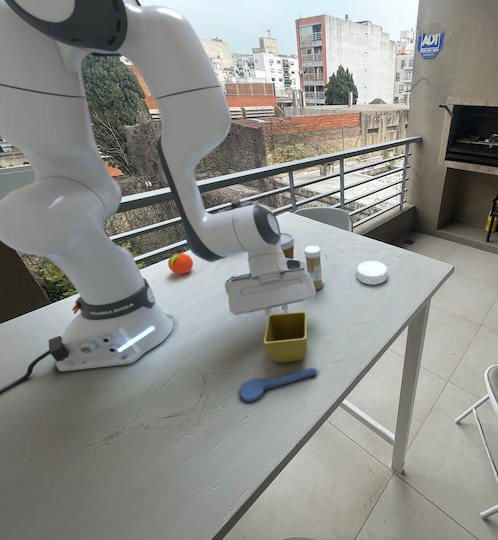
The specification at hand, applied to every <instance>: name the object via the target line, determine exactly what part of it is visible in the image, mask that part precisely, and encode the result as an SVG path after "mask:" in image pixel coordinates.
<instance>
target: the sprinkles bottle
mask: <svg viewBox="0 0 498 540" xmlns="http://www.w3.org/2000/svg"><path fill="white" fill-rule="evenodd" d="M304 256H305V263H306V271H308V272H309V274H310V275H311V278H312V280H313V283H314V286H315V290H316V291H317V290H319V289H321V288H322V287H323V279H322V278H323V275H322V274H323V273H322V262H321V248H320V247H319V246H317V245H309V246H307V247H305V248H304Z"/></svg>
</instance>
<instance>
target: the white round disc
mask: <svg viewBox="0 0 498 540" xmlns="http://www.w3.org/2000/svg"><path fill="white" fill-rule="evenodd" d="M356 276H357V279H358V280H359V281H360V282H361V283H363V284H366V285H372V286H374V285H380V284H383V283H384V282H385V281H386V280H387V278H388V267H387V266H386V265H385V264H384V263H383V262H381V261H377V260H366V261H363V262H361V263H359V264H358V265H357V268H356Z"/></svg>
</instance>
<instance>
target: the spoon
mask: <svg viewBox="0 0 498 540" xmlns="http://www.w3.org/2000/svg"><path fill="white" fill-rule="evenodd" d="M316 374H317V369H316V368H315V367H310V368H306V369H303V370H299V371H296V372H292V373H288V374H285V375H282V376H278V377H275V378H272V379H268V380H265V381H263V380H262V379H259V378H253V379H249V380H247V381H246V382H245V383H243V384H242V386H241V387H240V392H239V394H240V396H241V399H242V400H243V401H244V402H247V403H249V402H250V403H251V402H255V401H258V400H259V399H260V398H261V397H262V396H263V395H264V393H265V390H268V389H272V388H275V387H276V388H277V387H279V386H283V385H287V384H290V383H292V382H296V381H299V380H302V379H306V378H309V377H313V376H315V375H316Z"/></svg>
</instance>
